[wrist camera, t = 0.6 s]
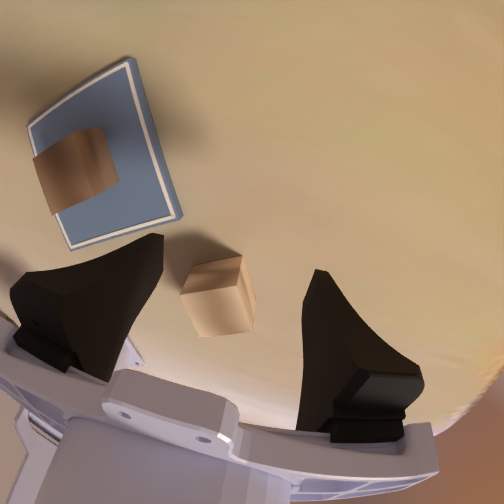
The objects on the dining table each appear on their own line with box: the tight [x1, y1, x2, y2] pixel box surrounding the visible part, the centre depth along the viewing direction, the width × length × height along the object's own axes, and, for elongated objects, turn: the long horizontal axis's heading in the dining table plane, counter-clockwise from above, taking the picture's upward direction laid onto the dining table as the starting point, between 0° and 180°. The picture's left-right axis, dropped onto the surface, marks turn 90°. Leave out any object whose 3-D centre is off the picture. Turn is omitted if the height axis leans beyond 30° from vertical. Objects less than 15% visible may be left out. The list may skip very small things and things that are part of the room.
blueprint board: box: [26, 57, 183, 251], centre depth 19 cm, size 13×14×5 cm
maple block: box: [180, 256, 256, 338], centre depth 24 cm, size 5×5×5 cm
